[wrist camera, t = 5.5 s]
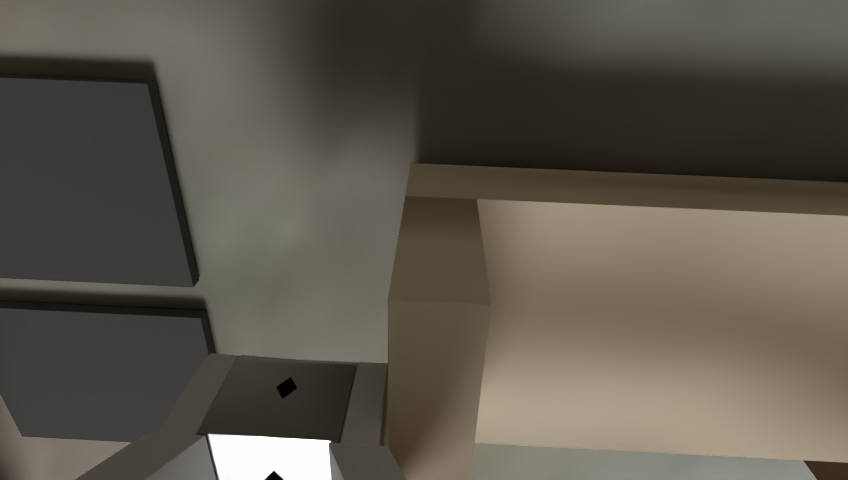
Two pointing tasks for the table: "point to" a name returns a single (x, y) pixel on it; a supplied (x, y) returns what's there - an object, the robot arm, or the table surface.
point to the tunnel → (828, 470)
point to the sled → (616, 316)
